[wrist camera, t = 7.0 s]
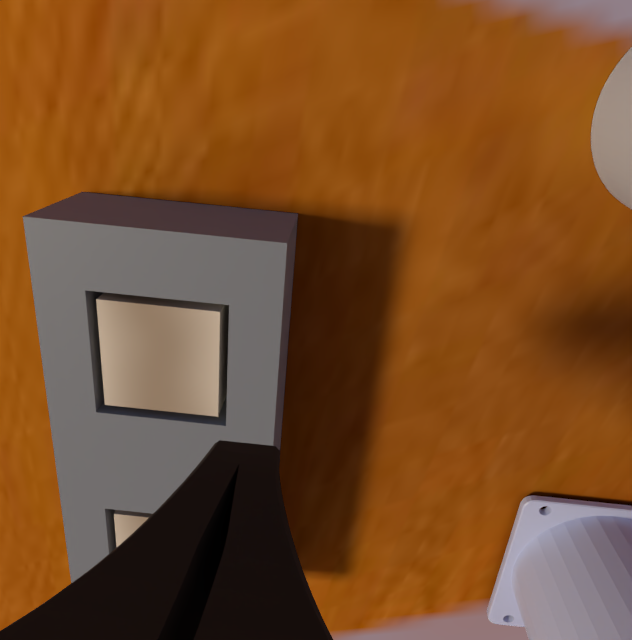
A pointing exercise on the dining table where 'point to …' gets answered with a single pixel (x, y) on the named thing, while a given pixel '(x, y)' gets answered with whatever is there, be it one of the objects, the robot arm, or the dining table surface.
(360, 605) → the dining table surface
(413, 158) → the dining table surface
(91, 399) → the grey peg hole board
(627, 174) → the coffee cup
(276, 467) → the robot arm
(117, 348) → the near peg
